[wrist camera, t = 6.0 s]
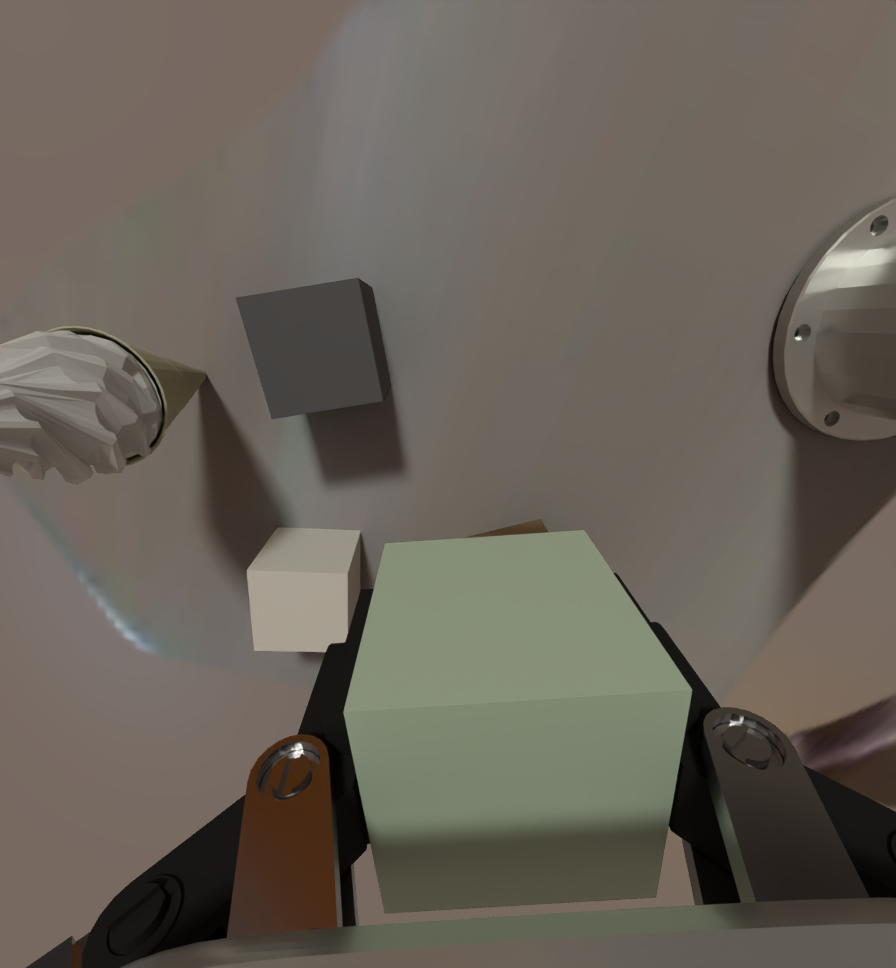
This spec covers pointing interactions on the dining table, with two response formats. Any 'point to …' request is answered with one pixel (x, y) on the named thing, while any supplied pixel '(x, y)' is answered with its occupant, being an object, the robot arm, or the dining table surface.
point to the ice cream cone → (85, 402)
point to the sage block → (512, 726)
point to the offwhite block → (304, 589)
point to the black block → (317, 347)
